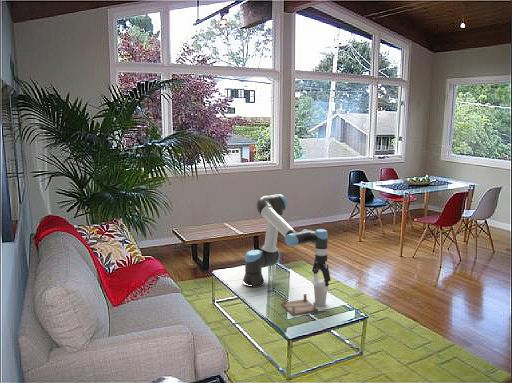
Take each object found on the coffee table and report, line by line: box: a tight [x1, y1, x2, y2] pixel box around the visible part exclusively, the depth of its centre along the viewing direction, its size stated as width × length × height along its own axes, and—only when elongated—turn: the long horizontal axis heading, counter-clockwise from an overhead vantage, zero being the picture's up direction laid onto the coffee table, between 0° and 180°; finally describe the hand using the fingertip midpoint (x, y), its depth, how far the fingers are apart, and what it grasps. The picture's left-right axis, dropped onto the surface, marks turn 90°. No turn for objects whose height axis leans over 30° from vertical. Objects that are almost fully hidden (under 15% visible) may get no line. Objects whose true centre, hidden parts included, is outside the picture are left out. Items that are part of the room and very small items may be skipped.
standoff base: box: [281, 293, 319, 316], centre depth 261 cm, size 17×17×5 cm
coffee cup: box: [312, 278, 328, 307], centre depth 267 cm, size 10×10×15 cm
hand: (320, 287), depth 266 cm, fingers open, 13 cm apart
